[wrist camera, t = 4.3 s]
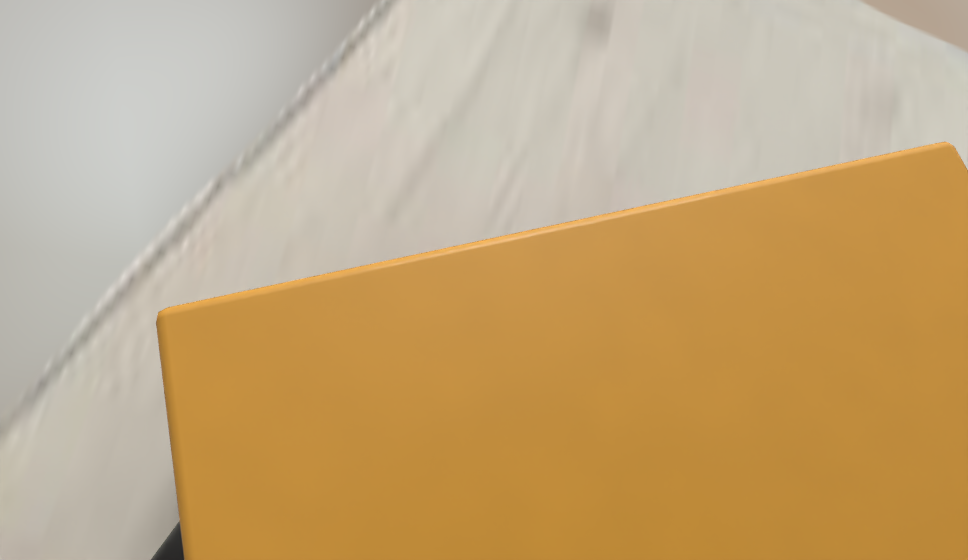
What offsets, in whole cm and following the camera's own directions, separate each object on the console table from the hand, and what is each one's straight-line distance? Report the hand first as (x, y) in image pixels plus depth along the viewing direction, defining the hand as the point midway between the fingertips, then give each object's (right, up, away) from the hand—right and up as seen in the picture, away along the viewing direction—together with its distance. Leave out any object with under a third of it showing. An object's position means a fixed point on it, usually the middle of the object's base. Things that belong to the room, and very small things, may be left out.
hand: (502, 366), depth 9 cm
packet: (0, -3, +4) cm, 5 cm away
